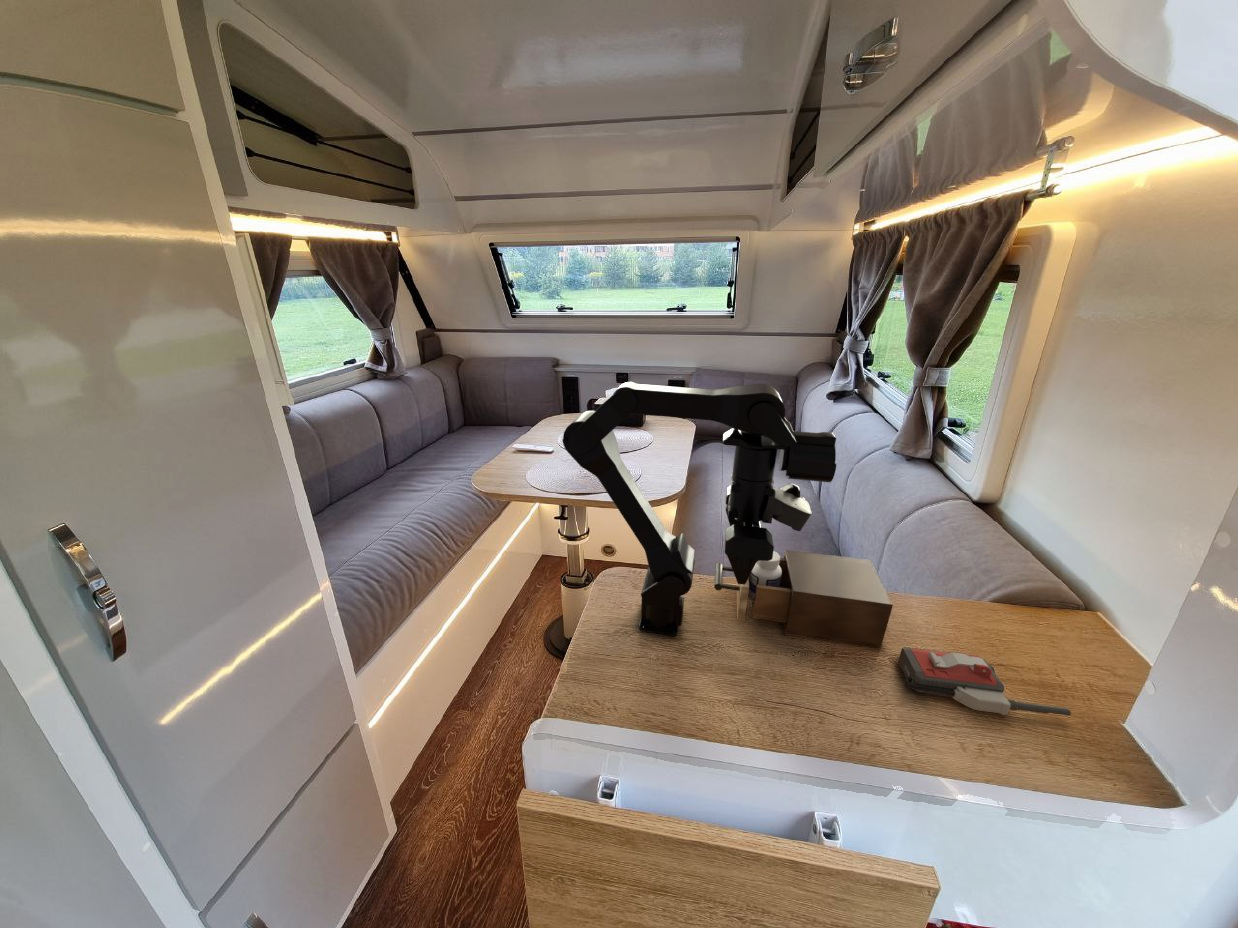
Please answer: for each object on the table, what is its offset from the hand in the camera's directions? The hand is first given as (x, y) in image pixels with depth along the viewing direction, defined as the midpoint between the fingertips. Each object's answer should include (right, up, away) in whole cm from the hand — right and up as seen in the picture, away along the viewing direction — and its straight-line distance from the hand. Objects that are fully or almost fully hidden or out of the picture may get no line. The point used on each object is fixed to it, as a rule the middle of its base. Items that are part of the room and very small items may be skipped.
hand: (740, 566), depth 74 cm
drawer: (+7, -9, +11) cm, 15 cm away
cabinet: (+17, -11, +9) cm, 22 cm away
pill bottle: (+6, -8, +10) cm, 15 cm away
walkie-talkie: (+32, -17, -5) cm, 37 cm away
